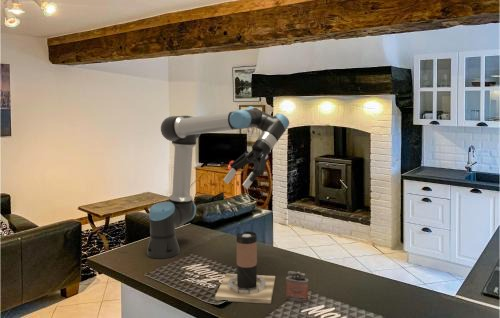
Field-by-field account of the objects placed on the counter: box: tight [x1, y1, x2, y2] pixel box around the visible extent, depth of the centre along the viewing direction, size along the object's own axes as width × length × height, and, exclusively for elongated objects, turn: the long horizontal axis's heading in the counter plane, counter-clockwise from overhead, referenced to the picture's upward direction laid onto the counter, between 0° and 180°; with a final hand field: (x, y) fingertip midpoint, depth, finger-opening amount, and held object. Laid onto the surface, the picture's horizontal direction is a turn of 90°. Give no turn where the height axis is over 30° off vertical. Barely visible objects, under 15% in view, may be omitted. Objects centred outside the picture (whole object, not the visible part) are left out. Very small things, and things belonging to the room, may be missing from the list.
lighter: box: [285, 270, 309, 303], centre depth 144 cm, size 8×3×10 cm, turn 71°
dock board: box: [214, 273, 276, 305], centre depth 152 cm, size 20×20×2 cm
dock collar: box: [228, 275, 266, 294], centre depth 152 cm, size 14×14×2 cm
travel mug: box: [236, 230, 258, 289], centre depth 150 cm, size 8×8×20 cm
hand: (234, 184), depth 161 cm, fingers open, 13 cm apart
